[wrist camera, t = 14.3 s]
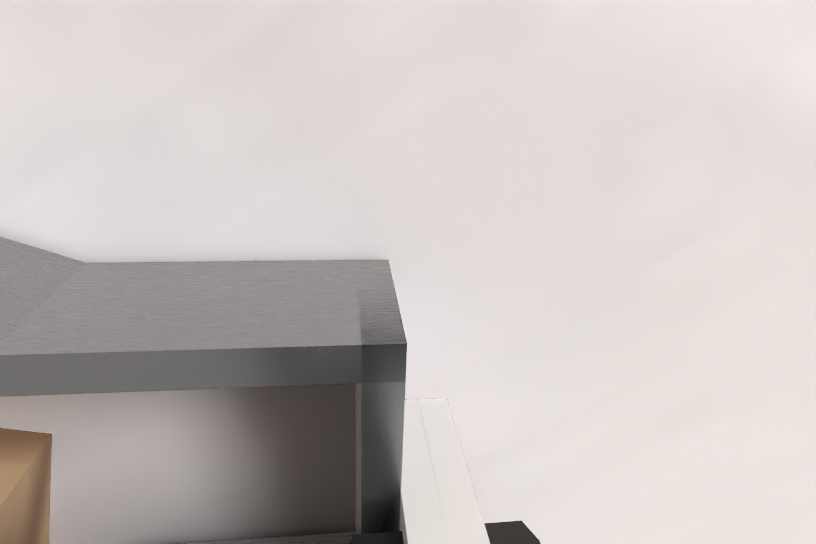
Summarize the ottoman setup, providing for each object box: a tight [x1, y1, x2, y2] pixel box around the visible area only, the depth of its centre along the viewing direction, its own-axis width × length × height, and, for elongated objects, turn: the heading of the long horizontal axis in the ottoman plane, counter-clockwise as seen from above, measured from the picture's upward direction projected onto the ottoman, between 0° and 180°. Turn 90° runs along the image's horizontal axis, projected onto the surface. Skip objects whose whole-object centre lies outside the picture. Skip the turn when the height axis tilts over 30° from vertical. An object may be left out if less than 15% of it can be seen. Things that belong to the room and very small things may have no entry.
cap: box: [0, 237, 407, 544], centre depth 13 cm, size 12×10×4 cm
